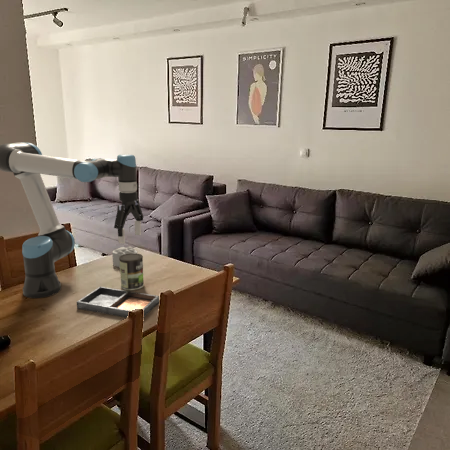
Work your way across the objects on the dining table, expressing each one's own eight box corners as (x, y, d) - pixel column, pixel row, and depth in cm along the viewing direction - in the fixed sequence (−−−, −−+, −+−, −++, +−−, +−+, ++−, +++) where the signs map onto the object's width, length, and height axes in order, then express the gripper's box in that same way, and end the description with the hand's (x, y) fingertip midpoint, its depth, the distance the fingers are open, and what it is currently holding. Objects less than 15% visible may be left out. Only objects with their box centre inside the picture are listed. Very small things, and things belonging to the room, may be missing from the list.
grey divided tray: (77, 308, 154) (76, 301, 153) (100, 292, 169) (100, 286, 168) (140, 320, 146) (140, 313, 145) (159, 302, 160) (159, 296, 160)
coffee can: (147, 282, 180) (146, 253, 177) (138, 291, 170) (137, 261, 167) (126, 280, 182) (125, 252, 178) (116, 289, 172) (114, 259, 169)
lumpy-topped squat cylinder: (124, 259, 210) (123, 244, 208) (142, 263, 204) (142, 248, 202) (110, 265, 201) (109, 249, 199) (129, 270, 195) (128, 253, 193)
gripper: (119, 197, 152) (122, 248, 158) (150, 187, 175) (151, 232, 181) (103, 195, 154) (106, 246, 160) (135, 186, 177) (137, 230, 183)
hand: (130, 238), depth 170 cm, fingers open, 13 cm apart
